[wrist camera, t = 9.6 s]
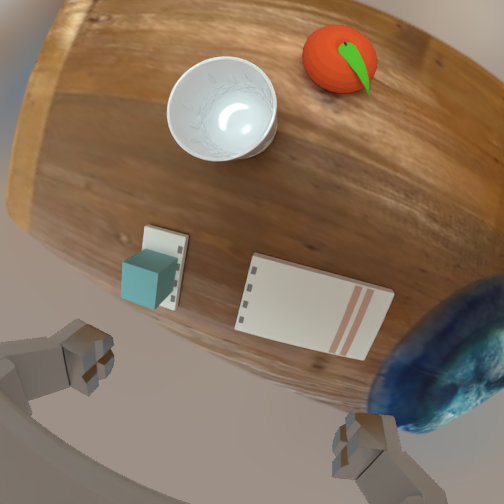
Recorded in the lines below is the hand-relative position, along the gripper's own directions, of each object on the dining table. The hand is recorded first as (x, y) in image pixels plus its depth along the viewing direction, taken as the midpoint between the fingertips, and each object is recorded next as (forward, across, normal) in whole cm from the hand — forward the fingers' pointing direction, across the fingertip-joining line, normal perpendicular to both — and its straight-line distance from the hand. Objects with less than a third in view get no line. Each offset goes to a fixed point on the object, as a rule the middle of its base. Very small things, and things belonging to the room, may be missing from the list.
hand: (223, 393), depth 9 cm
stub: (+22, +12, +7) cm, 26 cm away
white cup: (+23, +7, -10) cm, 26 cm away
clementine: (+24, -1, -18) cm, 30 cm away
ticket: (+23, -5, +7) cm, 25 cm away
